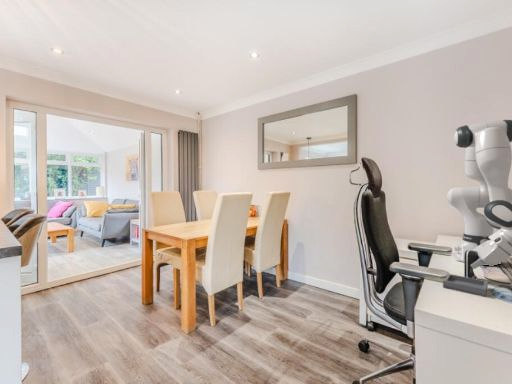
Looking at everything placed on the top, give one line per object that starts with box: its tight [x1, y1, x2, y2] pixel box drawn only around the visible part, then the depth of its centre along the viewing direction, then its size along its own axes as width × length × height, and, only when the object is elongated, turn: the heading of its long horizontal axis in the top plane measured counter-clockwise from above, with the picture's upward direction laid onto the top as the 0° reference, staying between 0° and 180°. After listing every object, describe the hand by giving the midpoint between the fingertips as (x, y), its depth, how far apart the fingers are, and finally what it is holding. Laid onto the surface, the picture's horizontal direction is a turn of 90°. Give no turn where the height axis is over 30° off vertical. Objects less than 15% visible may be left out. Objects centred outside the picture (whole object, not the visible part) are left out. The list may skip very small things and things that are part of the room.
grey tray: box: [442, 273, 488, 298], centre depth 92 cm, size 12×12×2 cm
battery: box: [463, 250, 479, 279], centre depth 101 cm, size 7×4×11 cm, turn 130°
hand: (469, 264), depth 102 cm, fingers closed on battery, 7 cm apart
